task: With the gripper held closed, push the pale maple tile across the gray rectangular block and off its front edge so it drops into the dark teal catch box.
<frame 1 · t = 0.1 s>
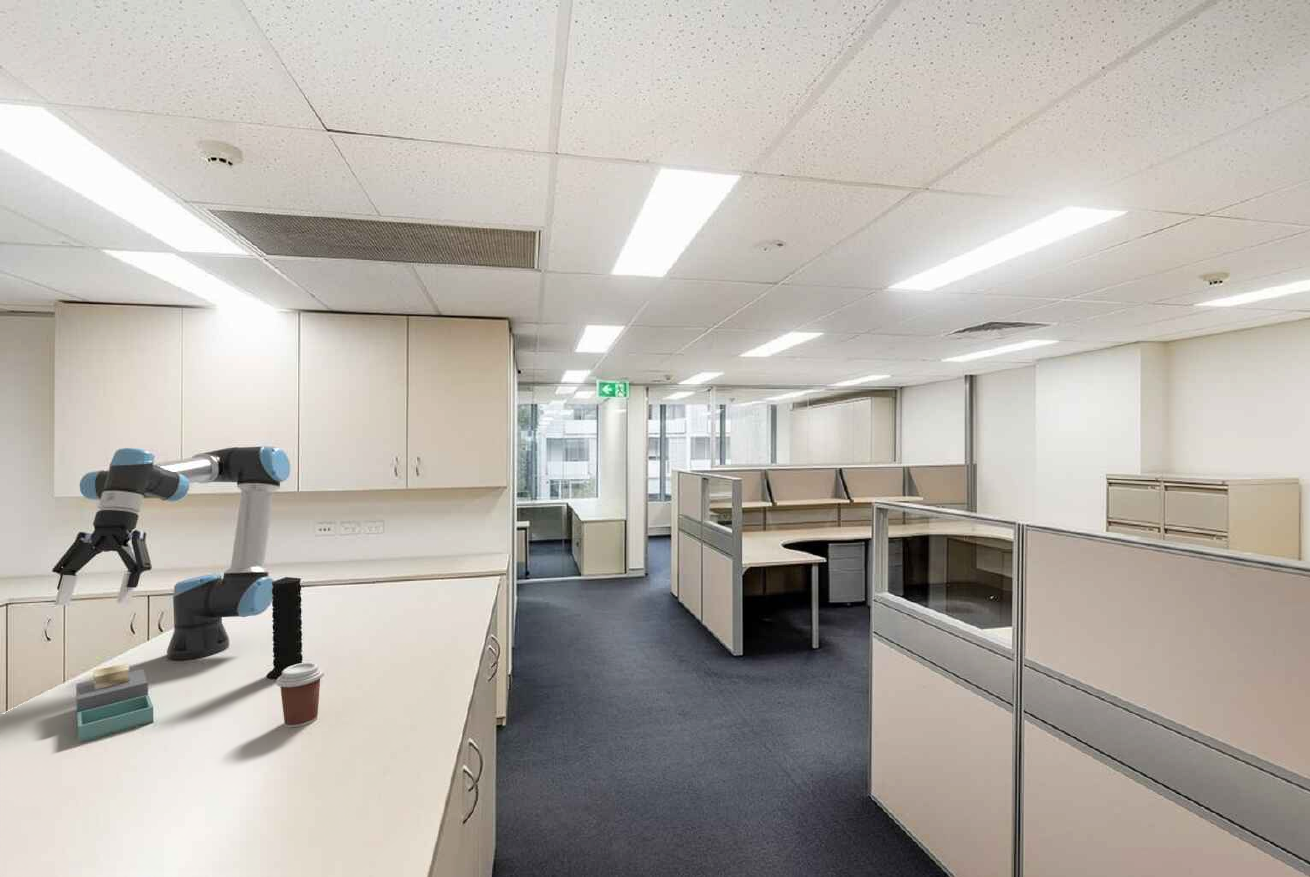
hand: (92, 604, 128), 28 cm above the counter, tool tilted 20°, fingers open, 13 cm apart
gray rectangular block: (112, 708, 137), on the counter
catch box: (115, 725, 128), on the counter
coffee cup: (301, 721, 128), on the counter
black ridged tower: (288, 672, 157), on the counter
tile: (111, 682, 138), point 6 cm above the counter, touching gray rectangular block
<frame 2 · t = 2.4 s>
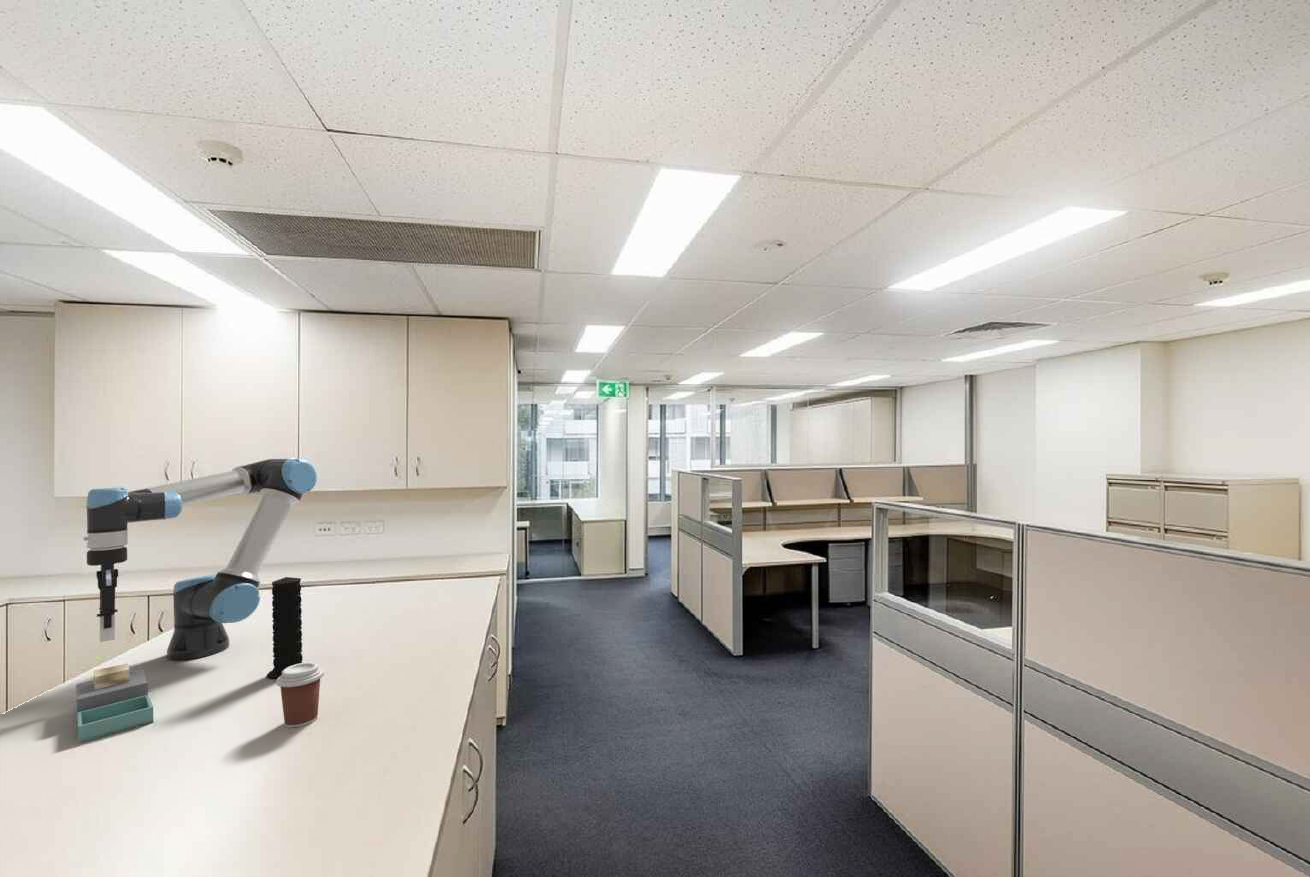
hand: (107, 640, 145), 14 cm above the counter, tool pointing down, fingers closed
nothing on the counter moved.
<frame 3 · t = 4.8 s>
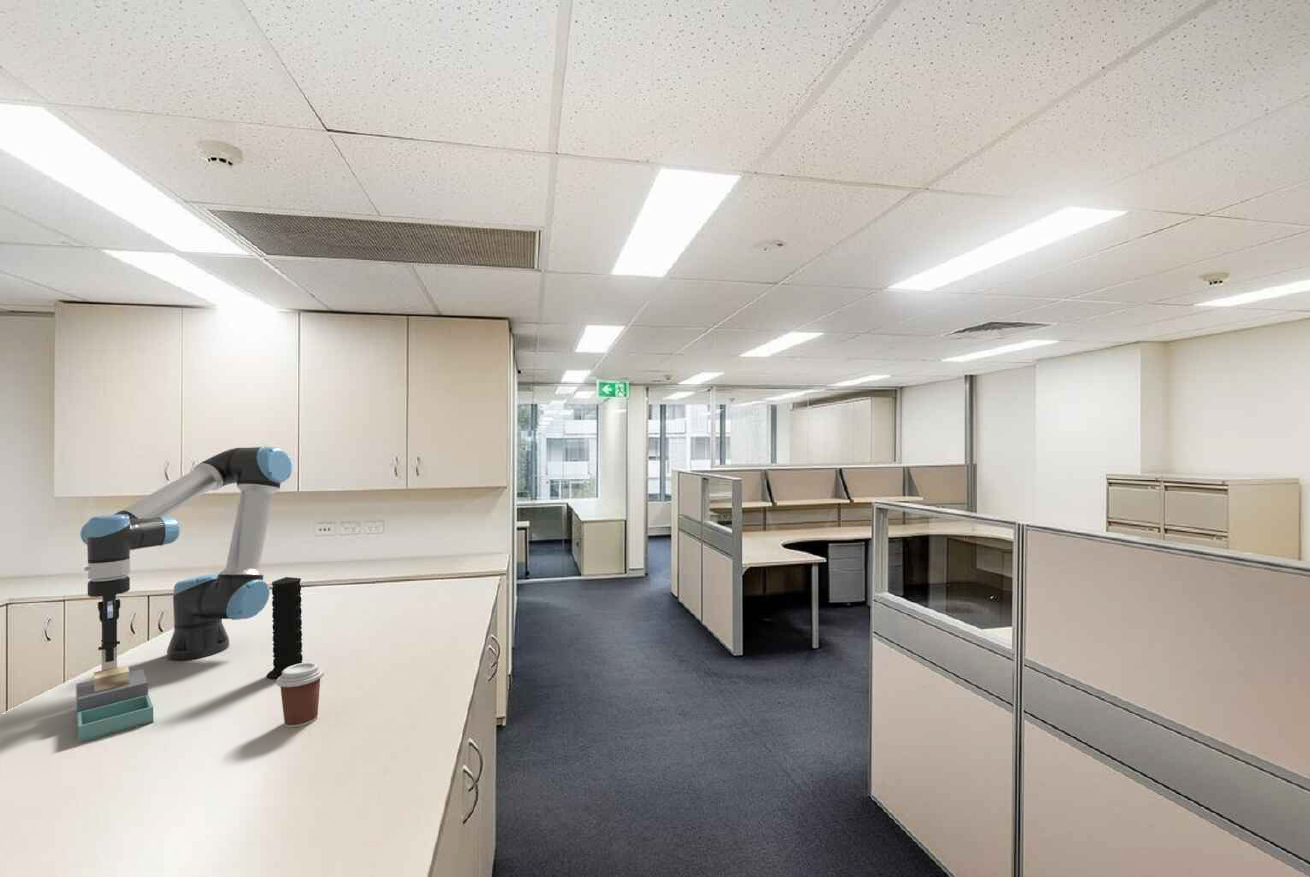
hand: (109, 673, 139), 8 cm above the counter, tool pointing down, fingers closed
tile: (111, 684, 137), point 6 cm above the counter, touching gripper, gray rectangular block
everything else where it was.
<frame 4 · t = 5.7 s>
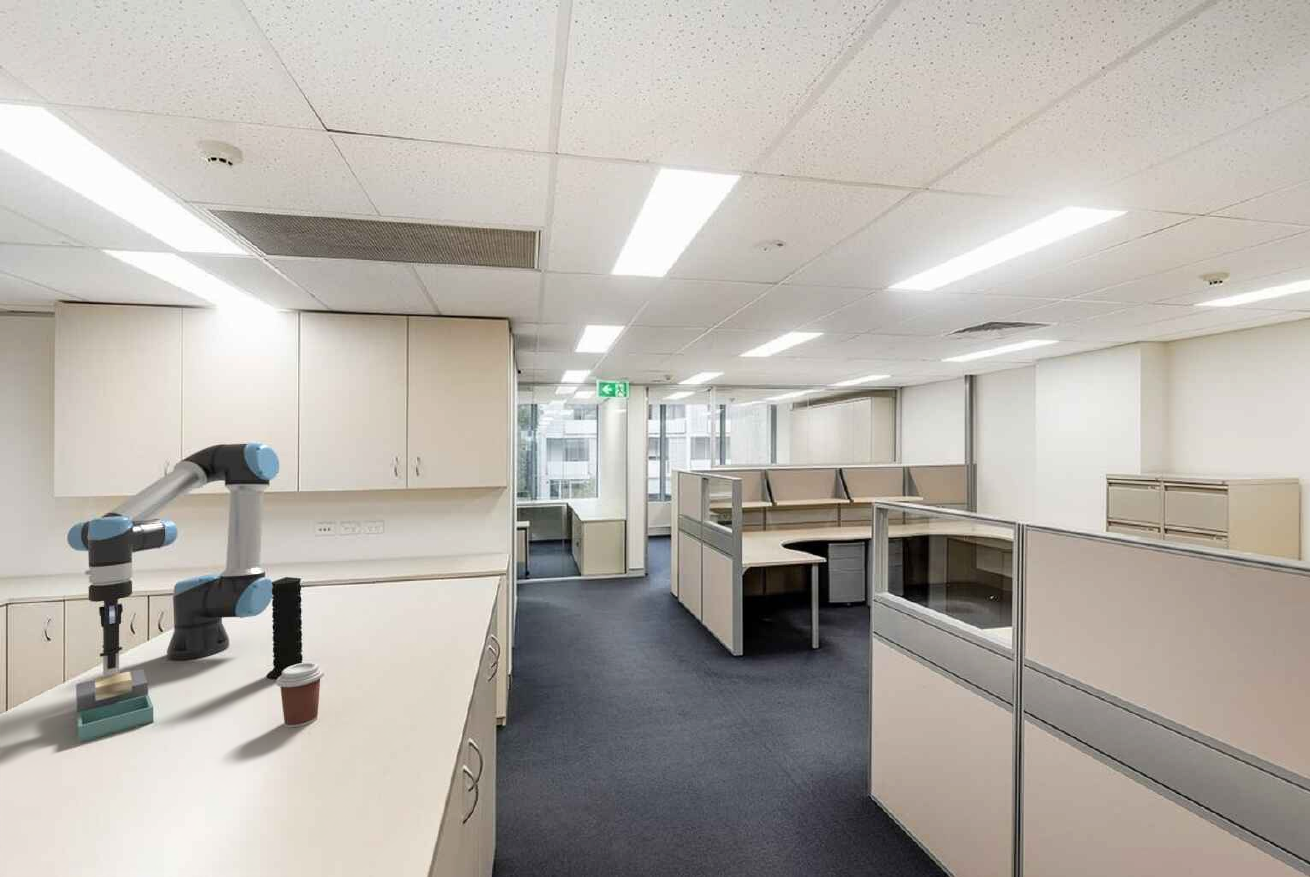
hand: (111, 680, 135), 8 cm above the counter, tool pointing down, fingers closed
tile: (113, 692, 132), point 6 cm above the counter
everything else where it was.
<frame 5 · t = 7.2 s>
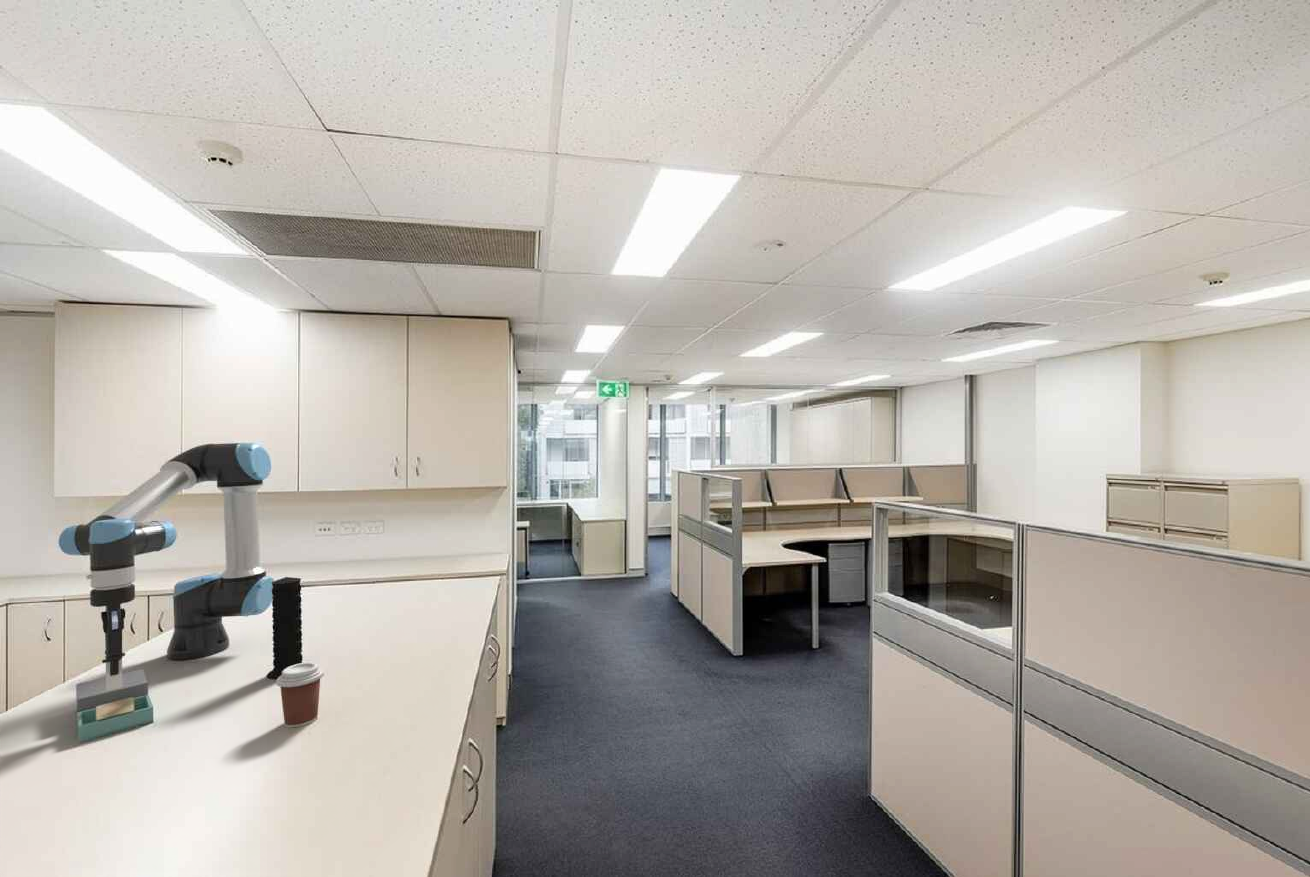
hand: (114, 687, 131), 7 cm above the counter, tool pointing down, fingers closed
tile: (114, 705, 128), point 5 cm above the counter, tilted 145°, touching catch box
everything else where it was.
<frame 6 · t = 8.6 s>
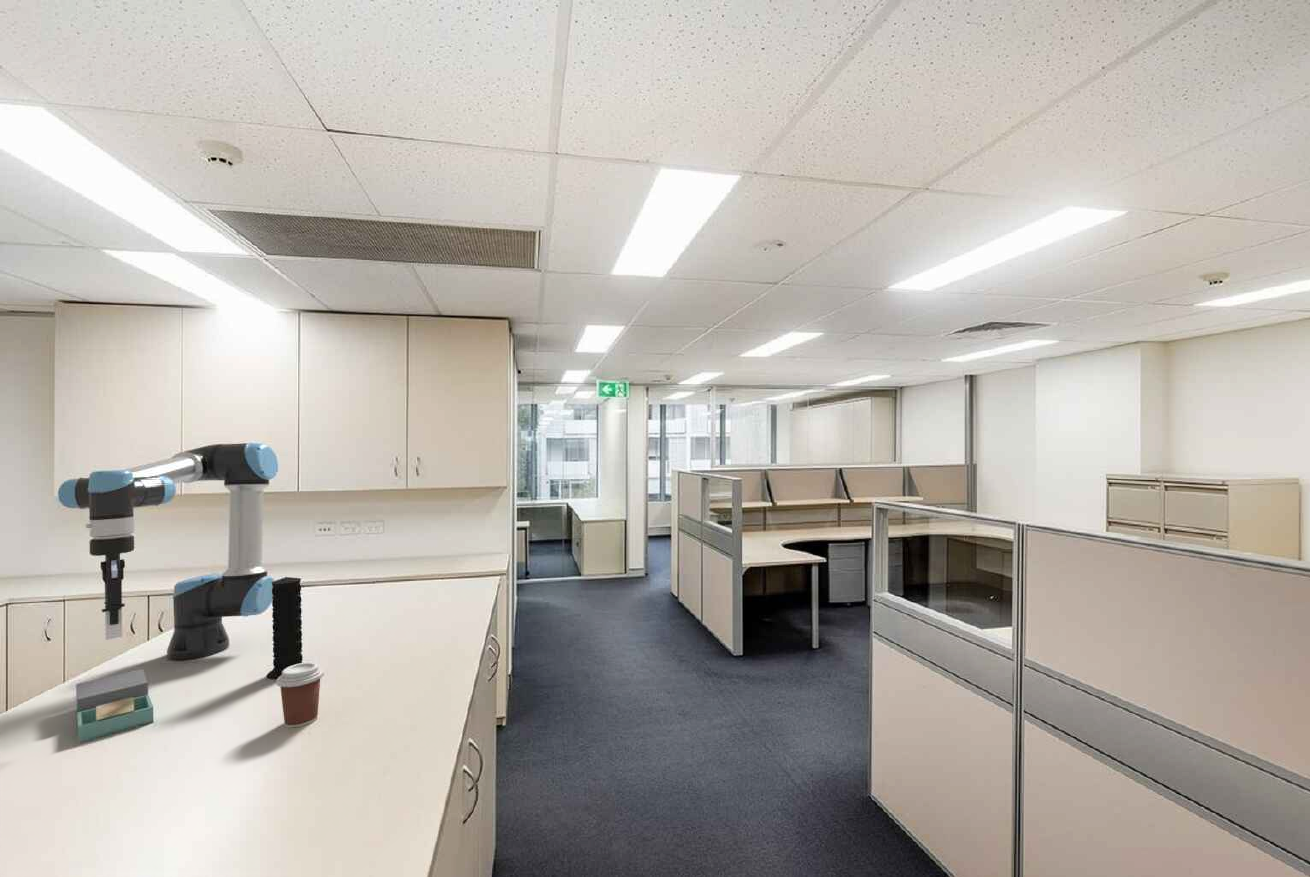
hand: (114, 637, 131), 19 cm above the counter, tool pointing down, fingers closed
nothing on the counter moved.
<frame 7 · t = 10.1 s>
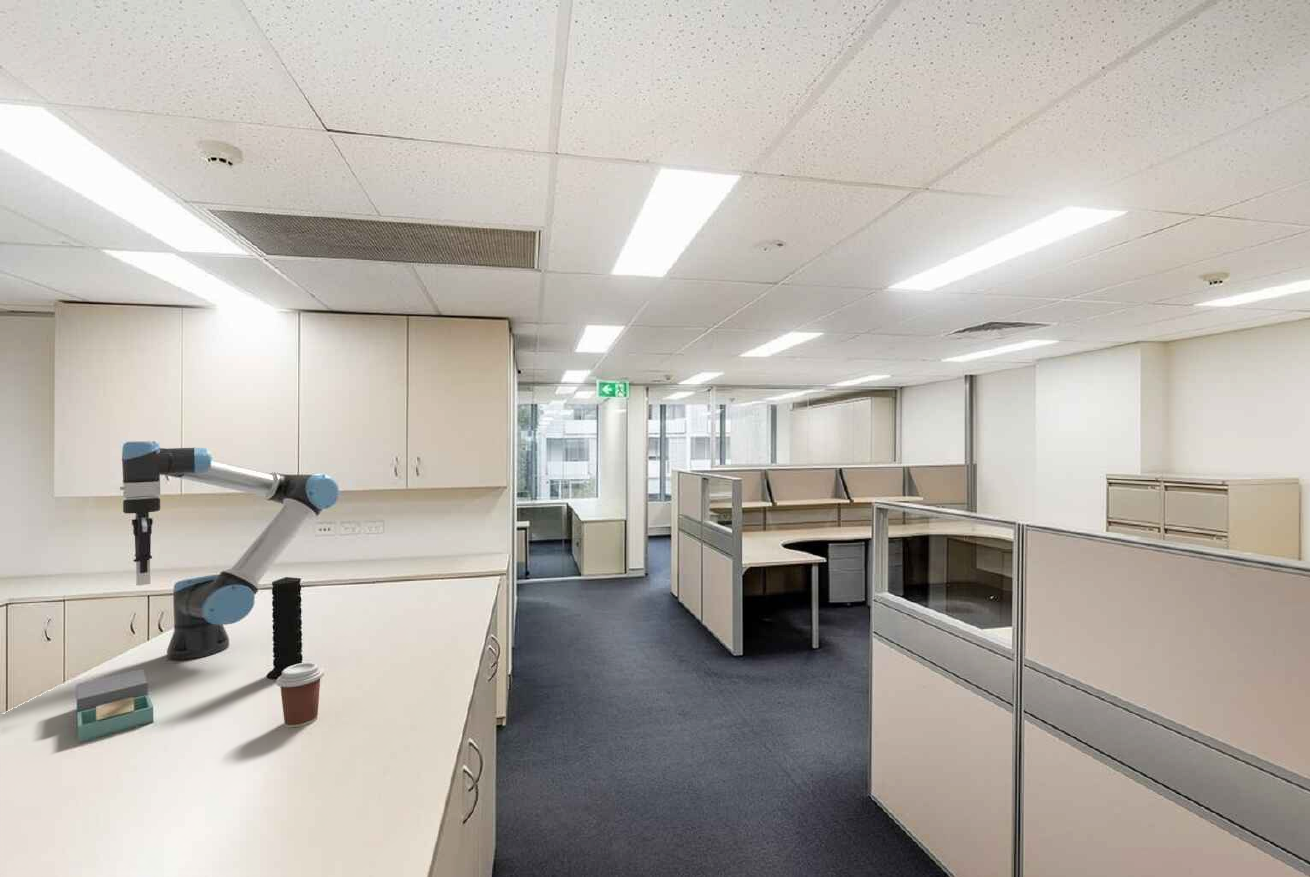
hand: (143, 584, 154), 26 cm above the counter, tool pointing down, fingers closed
nothing on the counter moved.
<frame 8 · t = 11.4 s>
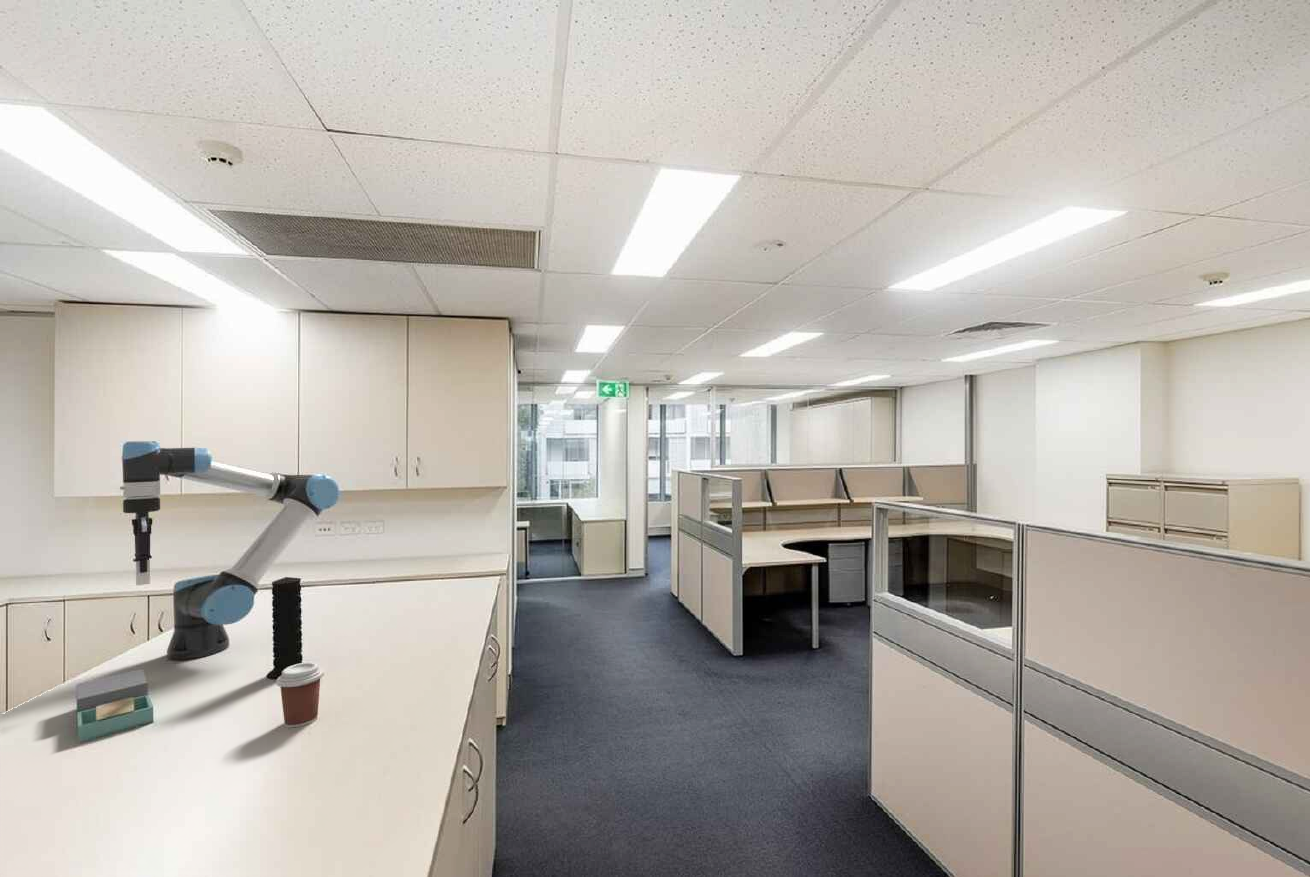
hand: (143, 584, 154), 26 cm above the counter, tool pointing down, fingers closed
nothing on the counter moved.
at the end: tile inside the target area (0.8 cm from its centre), point 4.7 cm above the counter; tile touching catch box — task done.
